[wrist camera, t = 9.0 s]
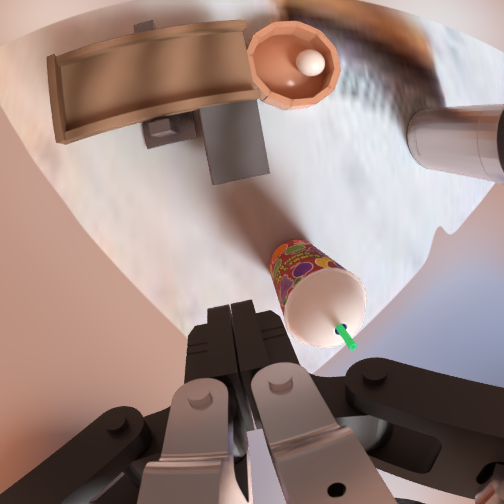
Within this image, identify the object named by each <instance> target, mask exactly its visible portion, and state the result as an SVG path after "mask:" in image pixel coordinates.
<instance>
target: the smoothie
mask: <svg viewBox="0 0 504 504" xmlns="http://www.w3.org/2000/svg"><path fill="white" fill-rule="evenodd" d="M270 273H271V277H272V280H273V283H274V286H275V289H276V293H277V296H278V299H279V302H280V306H281V309H282V312H283V315H284V320H285V324H286V327H287V330H288V332H289V333H290V334H291V335H292V336H293V338H294V339H296V340H297V341H299V342H301V343H303V344H305V345H310V346H313V347H319V348H333V347H337V346H340V345H342V344H344V343H346V345H347V346H348V348H349V349H350V350H354V349H356V347H357V345H356V344H355V342H354V341H353V339H352V338H353V337H354V336H355V334H356V333H357V332H358V331H359V329H360V327H361V325H362V323H363V321H364V317H365V312H366V302H367V298H366V291H365V288H364V286H363V284H362V282H361V281H360V279H359V278H358V277H356V276H355V275H354V274H353V273H351V272H350V271H347V270H346V269H345V268H343V267H342V266H341V265H339V264H338V263H336V262H335V261H334V260H332V259H331V258H330V257H328V256H327V255H325V254H324V253H323V252H321V251H320V250H319V249H317V248H316V247H314V246H313V245H312V244H310V243H309V242H307V241H303V240H290V241H288V242H285V243H283V244H282V245H281V246H279V247H278V248H277V249H276V250H275V252H274V253H273V254H272V257H271V260H270Z"/></svg>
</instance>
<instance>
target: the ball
mask: <svg viewBox="0 0 504 504" xmlns="http://www.w3.org/2000/svg"><path fill="white" fill-rule="evenodd" d="M296 66H297V68H298V70H299V71H300V72H301V73H302V74H304V75H307V76H316V75H318V74H320V73H321V72H322V71H323V69H324V67H325V60H324V58H323V56H322V55H321V54H320V53H319V52H317V51H315V50H311V49H308V50H304V51H302V52H300V53H299V54H298V56H297V58H296Z"/></svg>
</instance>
